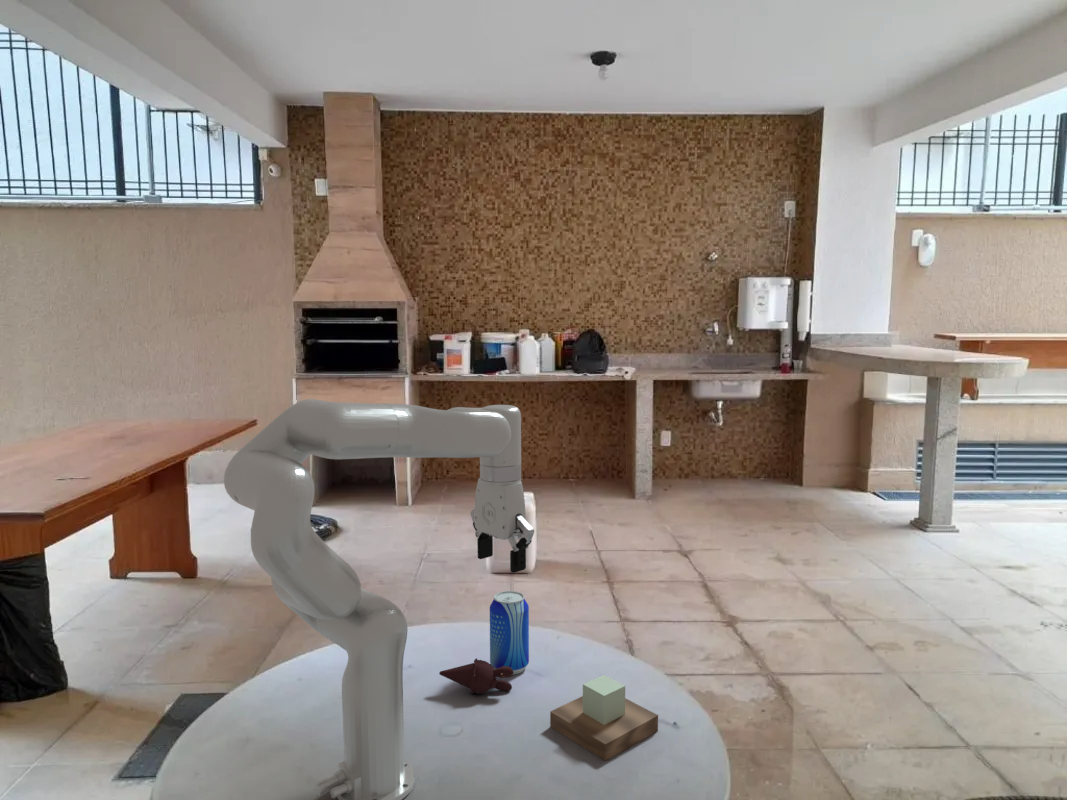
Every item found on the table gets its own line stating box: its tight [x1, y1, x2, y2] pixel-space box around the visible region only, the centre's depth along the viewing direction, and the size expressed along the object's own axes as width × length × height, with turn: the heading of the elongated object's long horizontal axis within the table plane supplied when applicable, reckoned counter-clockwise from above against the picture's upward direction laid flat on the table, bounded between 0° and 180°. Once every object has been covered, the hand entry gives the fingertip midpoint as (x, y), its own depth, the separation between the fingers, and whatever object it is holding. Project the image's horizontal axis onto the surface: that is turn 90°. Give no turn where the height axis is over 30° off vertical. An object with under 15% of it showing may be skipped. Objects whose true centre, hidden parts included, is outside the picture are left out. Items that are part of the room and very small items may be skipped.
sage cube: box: [582, 674, 626, 725], centre depth 135 cm, size 6×6×6 cm
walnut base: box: [549, 695, 659, 762], centre depth 135 cm, size 14×14×3 cm
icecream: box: [439, 657, 514, 696], centre depth 149 cm, size 7×7×15 cm
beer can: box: [489, 590, 530, 676], centre depth 158 cm, size 8×8×16 cm
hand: (501, 563), depth 135 cm, fingers open, 9 cm apart
